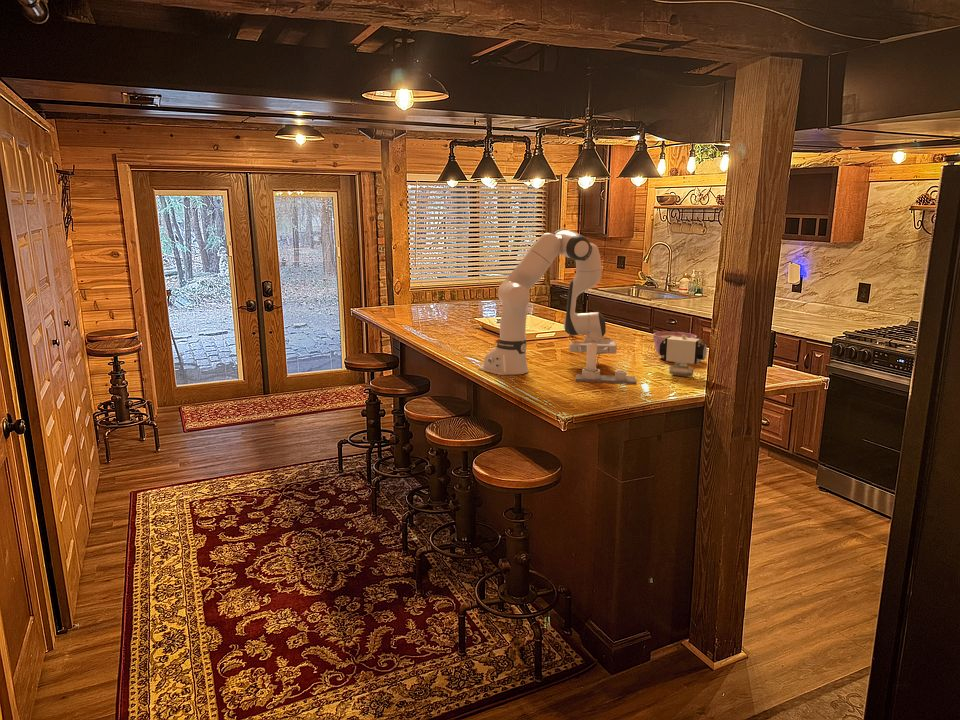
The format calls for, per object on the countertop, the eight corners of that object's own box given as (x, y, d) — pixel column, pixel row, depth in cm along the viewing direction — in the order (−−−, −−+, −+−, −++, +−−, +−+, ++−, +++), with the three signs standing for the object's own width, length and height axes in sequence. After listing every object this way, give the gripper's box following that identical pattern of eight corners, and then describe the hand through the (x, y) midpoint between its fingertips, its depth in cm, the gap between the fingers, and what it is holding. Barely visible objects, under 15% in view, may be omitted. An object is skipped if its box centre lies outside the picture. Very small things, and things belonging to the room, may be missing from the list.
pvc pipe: (584, 377, 274) (585, 343, 271) (589, 375, 277) (590, 342, 274) (592, 378, 272) (593, 345, 269) (597, 376, 275) (598, 343, 272)
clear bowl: (643, 358, 316) (644, 334, 313) (665, 352, 329) (666, 330, 327) (682, 365, 302) (683, 340, 299) (702, 358, 316) (704, 335, 313)
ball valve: (705, 376, 281) (708, 335, 277) (700, 380, 274) (704, 338, 270) (663, 371, 290) (665, 331, 286) (657, 375, 283) (660, 334, 279)
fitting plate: (575, 381, 271) (576, 371, 270) (576, 376, 280) (577, 367, 279) (635, 384, 267) (636, 374, 266) (634, 378, 276) (635, 369, 275)
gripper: (570, 337, 296) (568, 342, 283) (616, 338, 292) (616, 344, 279) (569, 351, 297) (567, 357, 284) (616, 352, 294) (616, 359, 280)
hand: (592, 351), depth 282 cm, fingers open, 8 cm apart
